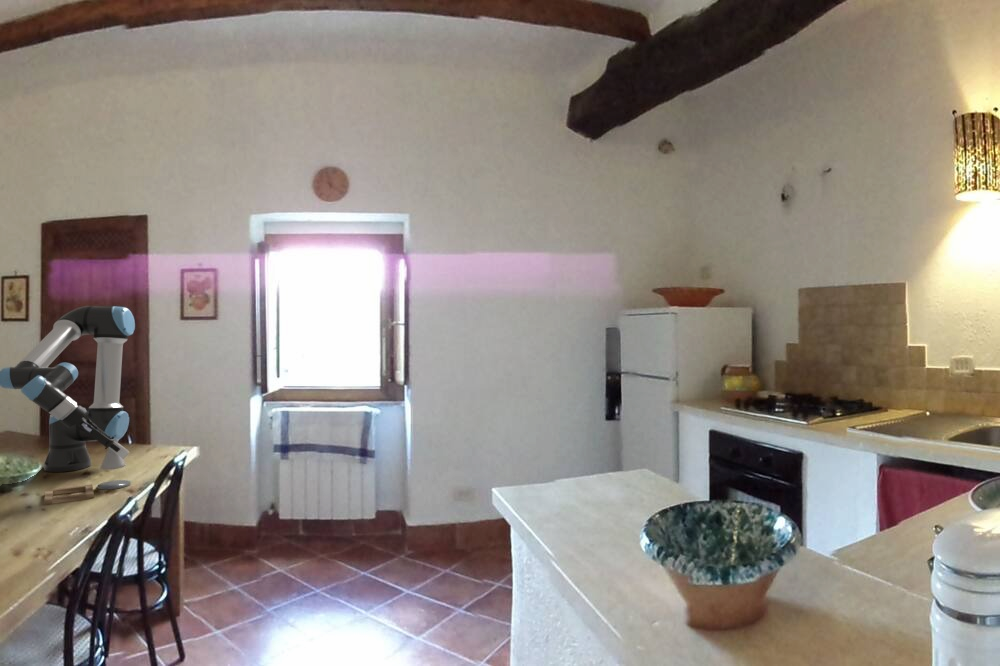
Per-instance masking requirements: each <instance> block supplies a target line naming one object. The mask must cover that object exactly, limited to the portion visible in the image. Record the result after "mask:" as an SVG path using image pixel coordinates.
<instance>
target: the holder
mask: <svg viewBox="0 0 1000 666" xmlns="http://www.w3.org/2000/svg"><path fill="white" fill-rule="evenodd" d="M79 492H85V493H79ZM70 493H71V494H70ZM72 493H77V494H72ZM44 494H45V495H44V506H46V505H52V504H53V505H54V504H60V503H67V502H68V503H69V502H75V501H76V502H77V501H82V500H83V501H84V500H89V499H90V500H91V499H94V497H95V496H94V495H95V494H94V487H93V484H85V485H83V484H82V485H76V486H68V487H60V488H59V487H58V488H53V489H51V488H50V489H46V490H45V493H44ZM63 494H64V495H63ZM65 494H68V495H65ZM56 495H57V496H56ZM58 495H59V496H58ZM60 495H61V496H60Z"/></svg>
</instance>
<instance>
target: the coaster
mask: <svg viewBox="0 0 1000 666" xmlns="http://www.w3.org/2000/svg"><path fill="white" fill-rule="evenodd" d="M131 485H132V484H131V481H130V480H123V479H119V480H109V481H105V482H102V483H98V484H97V486H96V488H97V490H101V491H107V490H109V491H111V490H118V489H123V488H127V487H129V486H131Z"/></svg>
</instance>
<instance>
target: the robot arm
mask: <svg viewBox="0 0 1000 666" xmlns="http://www.w3.org/2000/svg"><path fill="white" fill-rule="evenodd" d="M135 322H136V321H135V317H134V315H133V313H132V311H131V310H130V309H129V308H127V307H126V306H115V305H114V306H113V305H112V306H111V305H109V306H108V305H105V306H104V305H101V306H99V305H85V306H81V307H78V308H75V309H72V310H71V311H69V312H67V313H66V314H63V315H62V316H61V317H60V318H58V320H56V321H55V322H54V324H53V326H52V329H51V331H50V332H48V334H46V335H45V336H44V338H43V339H41V340H40V341H39V342H38V344H36V346H34V348H32V350H30V351H29V352H28V353H27V354H26V355H25V357H23V358H22V359H21V360H20V361H19V363H17V364H16V365H15V366H9V367H4V368H1V370H0V387H1V388H3V389H7V390H20V392H21V393H22V394H23V395H24V396H25V397H26V398H28V400H29V401H31V402H33V403H34V404H36V406H39V408H41V409H42V410H44V411H45V412H47V413H49V414H50V415H49V421H48V422H49V423H48V425H49V426H48V427H49V428H48V429H49V430H48V431H49V449H48V453H47V455H46V457H45V461H44V462H43V463H44V464H43V471H44V472H50V473H59V472H60V473H62V472H63V473H64V472H71V471H78V470H83V469H87V468H88V467H90V466H92V459H91V456H90V453H89V451H88V449H87V443H86V442H99V443H100V444H101V445H103V446H104V449H105V450H108V448H109V449H110V450H111V451H113V452H114V453H116V454H117V455H118V456H120V457H121V458H122V459H123V460H124V459H125V458H126V457H127V456H128V455H130V451H129V449H127V448H125V446H123V445H122V444H120V443H119V442H118V444H117V443H116V442H113V441H112V440H111V439H118V440H121V439H122V438H123V437H124V436H125V434H126V432H127V431H128V428H129V425H130V424H129V423H130V416H129V413H128V412H127V411H124V405H122V404H121V403H120V397H121V384H122V383H121V382H122V381H121V380H122V362H123V348H124V347H123V346H124V343H126V342H127V341H128V339H129V336H131V335H133V334H134V331H135V329H136V323H135ZM86 335H87V336H88V335H90V336H92V335H93V340H94V341H95V342H96V343H97V349H96V350H97V351H96V362H95V363H96V364H95V378H94V381H95V382H94V395H93V402H92V404H90V406H89V407H88V410H87V409H86V407H83V406H82V405H80V404H79V405H78V402H77V401H76V400H74V399H73V398H72V397H70V396H69V395H68V394H66V393H65V391H66V390H67V388H69V387H70V386H71V385H73V384H74V381H76V379H77V378H78V376H79V371H78V369H77V367H76V366H75V365H74V364H72V363H70V362H60V363H59V364H56V365H55V366H54V367H49V366H50V365H51V364H52V363H53V362H54V361H55V360H56V358H58V356H59V355H60V354H61V353H62V352H64V350H65V349H66V348H67V347H68V346H69V345H70V344H71V343H72V341H73V342H74V341H77V340H78V339H79V338H80V337H82V336H86Z"/></svg>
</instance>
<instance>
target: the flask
mask: <svg viewBox="0 0 1000 666" xmlns="http://www.w3.org/2000/svg"><path fill="white" fill-rule="evenodd" d="M111 440H112V441H113V442H116V443H117V444H118V443H119V440H120V439H119V440H118V439H111ZM125 467H126V463H125V460H124V459H122V458H121V457H120V456H118V455H117V454H116V453H114V452H113V451H111V450H110V449H109V448H107V449H106V454H105V456H104V459H103V461H102V463H101V465H100V467H99V469H101V470H117V469H122V468H125Z"/></svg>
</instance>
